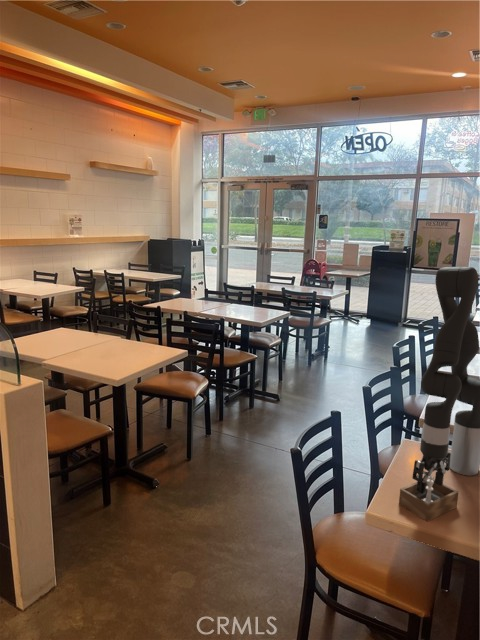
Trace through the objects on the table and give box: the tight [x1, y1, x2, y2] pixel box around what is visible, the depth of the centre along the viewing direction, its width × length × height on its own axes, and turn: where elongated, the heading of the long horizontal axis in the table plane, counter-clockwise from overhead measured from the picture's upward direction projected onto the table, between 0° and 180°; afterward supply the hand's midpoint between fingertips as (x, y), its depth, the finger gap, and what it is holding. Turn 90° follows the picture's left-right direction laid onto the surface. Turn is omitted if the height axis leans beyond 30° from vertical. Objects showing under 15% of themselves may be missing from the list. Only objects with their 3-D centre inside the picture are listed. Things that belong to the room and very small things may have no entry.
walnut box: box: [398, 478, 459, 522], centre depth 139 cm, size 14×10×5 cm
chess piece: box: [421, 474, 435, 504], centre depth 139 cm, size 5×5×10 cm
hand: (429, 488), depth 138 cm, fingers open, 8 cm apart
